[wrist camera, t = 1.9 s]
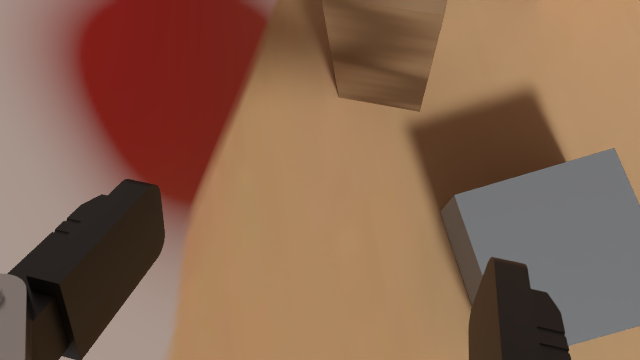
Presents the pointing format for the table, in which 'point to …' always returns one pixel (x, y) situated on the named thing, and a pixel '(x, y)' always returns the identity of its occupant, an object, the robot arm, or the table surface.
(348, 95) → the walnut block
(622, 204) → the slate gray block
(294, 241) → the table surface
